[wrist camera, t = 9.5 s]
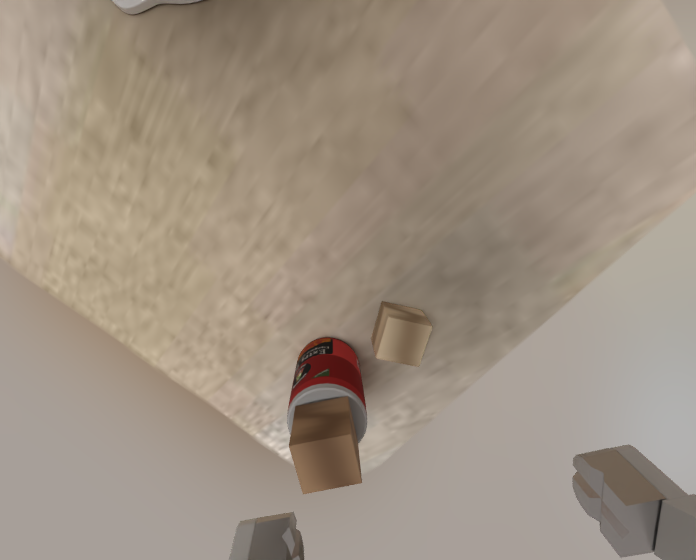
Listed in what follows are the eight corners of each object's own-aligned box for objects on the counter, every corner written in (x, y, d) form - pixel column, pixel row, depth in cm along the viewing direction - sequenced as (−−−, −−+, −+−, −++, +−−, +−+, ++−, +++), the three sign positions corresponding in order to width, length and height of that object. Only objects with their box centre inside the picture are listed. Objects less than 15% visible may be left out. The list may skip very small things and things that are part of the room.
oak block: (371, 338, 43) (375, 358, 38) (381, 301, 41) (388, 317, 37) (409, 346, 43) (418, 366, 38) (421, 309, 42) (432, 326, 37)
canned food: (324, 323, 42) (322, 372, 31) (372, 362, 44) (385, 420, 33) (284, 365, 43) (268, 426, 33) (331, 401, 45) (331, 469, 34)
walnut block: (307, 449, 34) (303, 494, 29) (295, 406, 32) (288, 446, 27) (357, 439, 34) (362, 482, 29) (347, 396, 32) (350, 434, 27)
